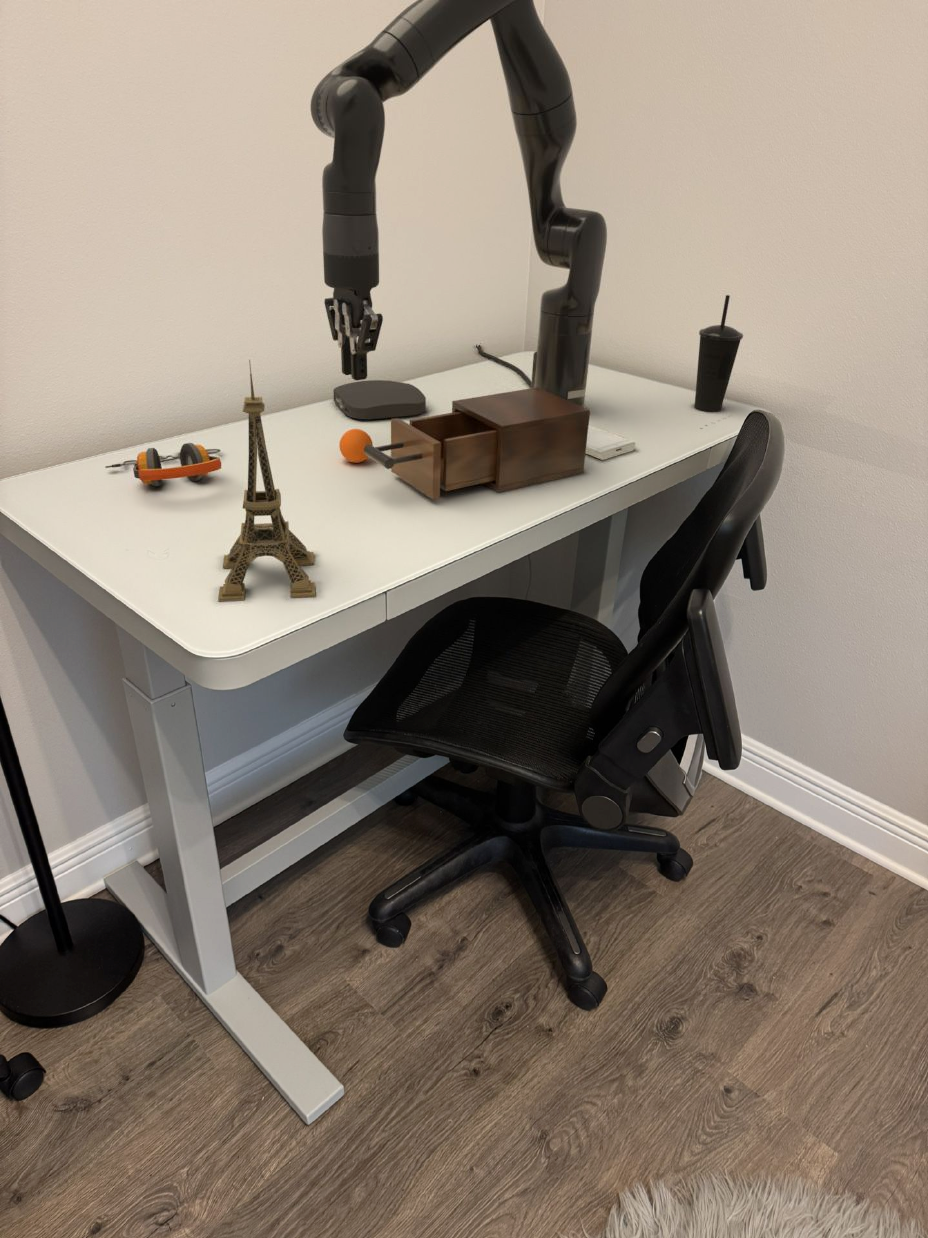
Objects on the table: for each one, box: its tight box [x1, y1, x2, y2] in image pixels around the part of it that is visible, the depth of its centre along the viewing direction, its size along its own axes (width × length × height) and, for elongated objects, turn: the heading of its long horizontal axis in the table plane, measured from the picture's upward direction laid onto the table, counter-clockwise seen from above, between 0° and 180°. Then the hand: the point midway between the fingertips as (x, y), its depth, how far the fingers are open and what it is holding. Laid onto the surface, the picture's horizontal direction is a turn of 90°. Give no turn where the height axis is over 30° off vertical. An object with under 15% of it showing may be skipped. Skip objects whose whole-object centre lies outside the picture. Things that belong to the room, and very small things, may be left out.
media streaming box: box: [333, 379, 427, 420], centre depth 159 cm, size 15×15×3 cm
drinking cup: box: [694, 294, 744, 413], centre depth 161 cm, size 8×8×20 cm
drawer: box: [364, 411, 498, 500], centre depth 126 cm, size 20×12×8 cm, turn 123°
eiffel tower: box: [217, 359, 316, 602], centre depth 97 cm, size 11×11×25 cm
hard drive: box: [585, 424, 636, 461], centre depth 146 cm, size 2×8×12 cm
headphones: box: [104, 442, 222, 488], centre depth 126 cm, size 17×5×20 cm
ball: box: [339, 428, 374, 464], centre depth 135 cm, size 5×5×5 cm
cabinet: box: [451, 387, 591, 493], centre depth 133 cm, size 16×13×10 cm
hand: (354, 375), depth 129 cm, fingers closed
